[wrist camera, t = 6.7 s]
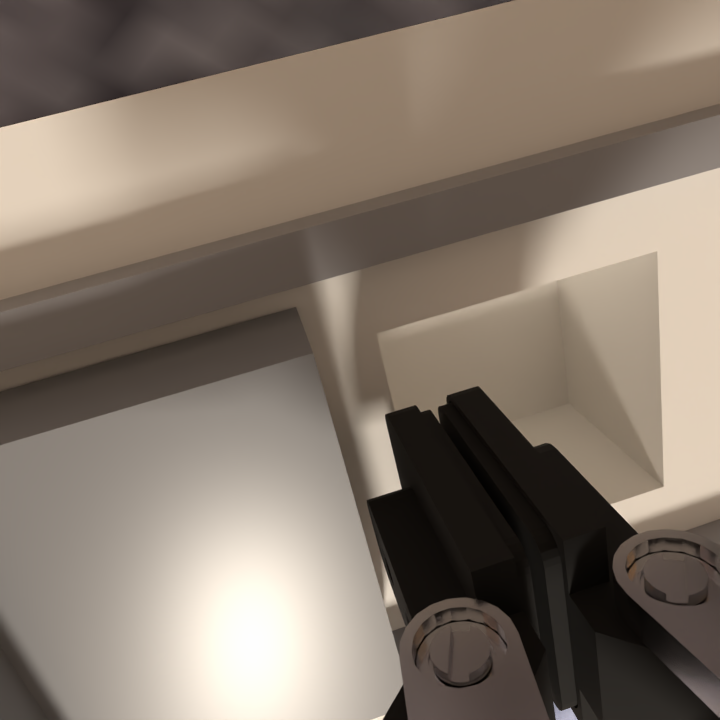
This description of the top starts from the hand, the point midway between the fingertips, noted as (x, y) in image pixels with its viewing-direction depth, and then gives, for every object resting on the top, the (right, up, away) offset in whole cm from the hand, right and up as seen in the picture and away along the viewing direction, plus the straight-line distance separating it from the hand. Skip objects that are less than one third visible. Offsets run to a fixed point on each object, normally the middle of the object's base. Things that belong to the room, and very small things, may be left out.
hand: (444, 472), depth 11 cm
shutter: (-5, -1, 0) cm, 5 cm away
